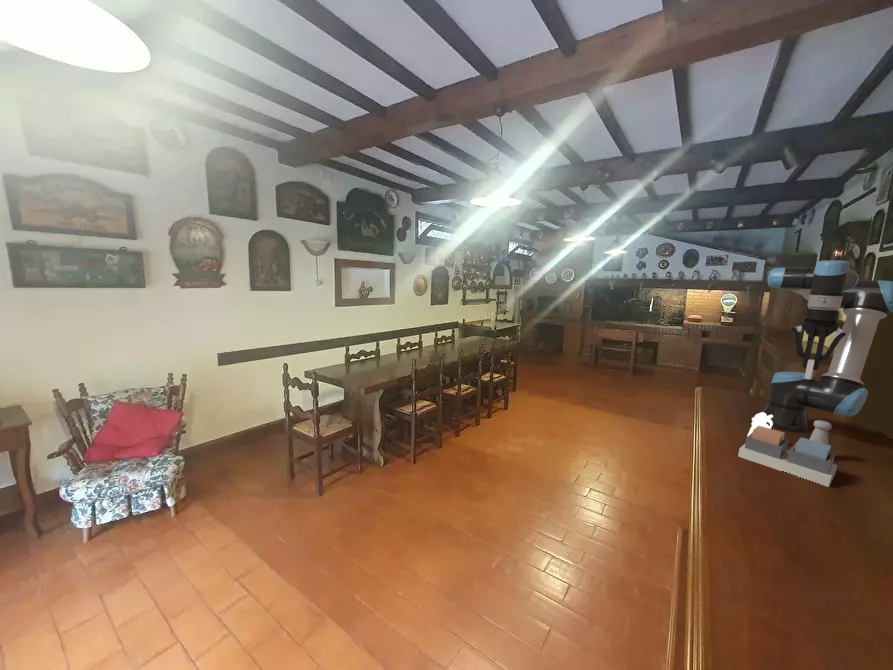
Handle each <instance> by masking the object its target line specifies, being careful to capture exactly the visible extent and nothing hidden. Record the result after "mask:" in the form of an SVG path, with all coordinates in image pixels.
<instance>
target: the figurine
mask: <svg viewBox="0 0 893 670" xmlns="http://www.w3.org/2000/svg"><path fill="white" fill-rule="evenodd" d="M772 417H773V415H768V416H767V415H766V413H764V412H762V411H761V412H759V413H756V414H755V415H754V416H753V417H752V418H751V421H752V422H751V427H750V429H749V431H748V433H747V435H746V437H747V436H749V435H750V434H751V433H752V432H753V430H754V429H755V428H756V427H757V426H762V427H766V428H769V429H772V428H773V427H772V425H773V422H772V420H771V418H772ZM766 422H769V423H770V426H769V425H768V424H766Z"/></svg>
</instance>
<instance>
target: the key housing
mask: <svg viewBox="0 0 893 670" xmlns="http://www.w3.org/2000/svg"><path fill="white" fill-rule="evenodd" d="M751 437H752V433H751V434H750V435H749V436H747V435H746V438H745V443H744V444H743V445H742V446H740V448H739V449H738V450H739V451H738V454H737V457H739V458H742V459H745V460H747V461H750V462H753V463H757V464H759V465H762V466H765V467H769V468H771V469H774V470H777V471H780V472H782V471H784V472H783V473H785V472H787V473H786V474H788V473H790V474H789V475H791V474H793V475H792V476H794V475H796V476H795V477H797V476H798V478H800V477H801V479H803V478H804V479H803V480H806V479H807V481H809V480H810V482H812V481H813V482H812V483H815V482H816V483H815V484H818V483H819V484H818V485H821V486H824V487H827V488H830V485H831V483H832V481H833V479H834V478H835V475H836V472H837V469H838V468H837V467H838V465H837V464H835V463H834V460H835V457H836V453H831V452H830V454H829V458H828V461H827V460H823V459H820V458H817V457H813V456H810V455H807V454H803V453H800V452H797V451H795V447H796V443H797V442H795V443H794V444H793V445H792V446H791V448H789V450H788V445H789V444H788V443H789V440H788V439H784V440H783V443H782V444H781V445H780V446H777V445H773V444H770V443H767V442H763V441H760V440H757V439H753V438H751Z"/></svg>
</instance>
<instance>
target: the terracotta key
mask: <svg viewBox="0 0 893 670" xmlns="http://www.w3.org/2000/svg"><path fill="white" fill-rule="evenodd" d="M785 433H786V432H783V431H780V430H776V429H772V428H771V429H769V428H766V427H762V426H757V427H756V428H755V429H754V430H753V432H752V437H751V438H753V439H757V440H760V441H763V442H767V443H770V444H773V445H777V446H780V445H781V444H782V443H783V440H785V439H784V438H785V435H786V434H785Z"/></svg>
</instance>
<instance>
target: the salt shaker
mask: <svg viewBox="0 0 893 670" xmlns="http://www.w3.org/2000/svg"><path fill="white" fill-rule="evenodd" d="M813 426H814V430H813V431H812V433H811V435H810V438H809V440H813V441H816V442H820V443H823V444H827V445H830V443H829V431H831V430H832V427H833V426H832V424H831V422H829V421H825V420H821V419H818V420H814V421H813Z"/></svg>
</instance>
